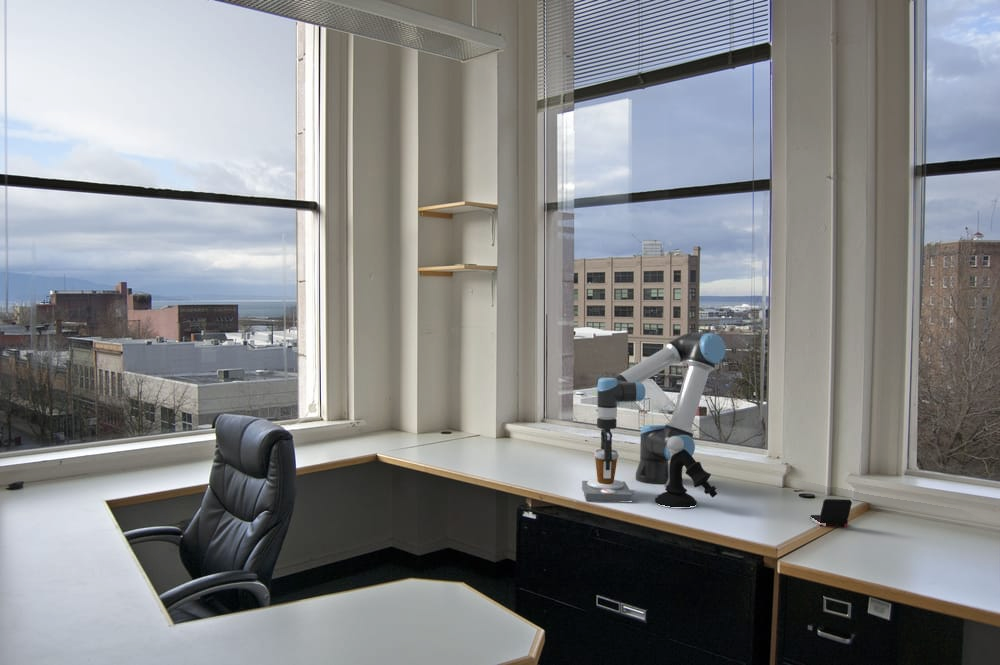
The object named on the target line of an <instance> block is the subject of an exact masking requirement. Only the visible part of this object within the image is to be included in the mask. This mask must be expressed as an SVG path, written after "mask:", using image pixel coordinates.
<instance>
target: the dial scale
mask: <svg viewBox="0 0 1000 665" xmlns="http://www.w3.org/2000/svg"><path fill="white" fill-rule="evenodd" d="M581 489H582V493H583V492H584V493H583V496H584V499H585V501H586V502H592V501H632V502H633V493H632V491H631V489H630V488H629V487H628V484H627V483H626V481H621V480H618V479H614V483H612V484H602V483H599V482H598V481H597V478H593V479H589V480H581Z"/></svg>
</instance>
